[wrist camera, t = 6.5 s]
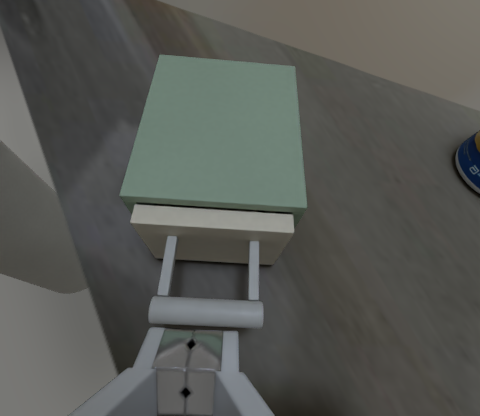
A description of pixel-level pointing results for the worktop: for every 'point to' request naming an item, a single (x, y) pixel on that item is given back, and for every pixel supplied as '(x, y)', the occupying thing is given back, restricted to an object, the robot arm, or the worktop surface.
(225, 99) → the cabinet
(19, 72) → the worktop surface
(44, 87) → the worktop surface
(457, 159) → the beverage bottle
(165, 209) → the drawer
